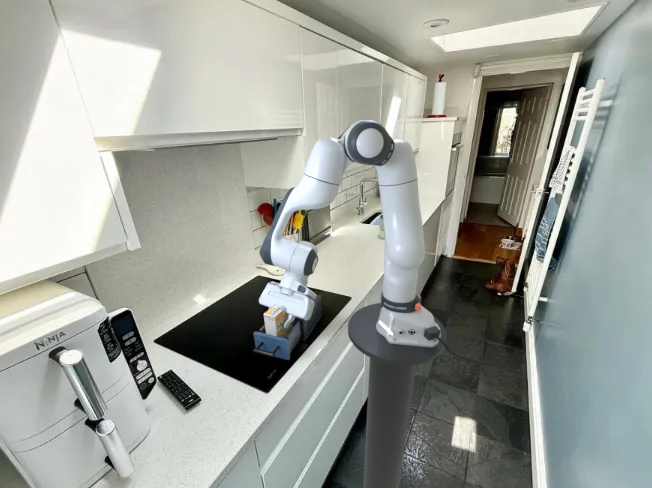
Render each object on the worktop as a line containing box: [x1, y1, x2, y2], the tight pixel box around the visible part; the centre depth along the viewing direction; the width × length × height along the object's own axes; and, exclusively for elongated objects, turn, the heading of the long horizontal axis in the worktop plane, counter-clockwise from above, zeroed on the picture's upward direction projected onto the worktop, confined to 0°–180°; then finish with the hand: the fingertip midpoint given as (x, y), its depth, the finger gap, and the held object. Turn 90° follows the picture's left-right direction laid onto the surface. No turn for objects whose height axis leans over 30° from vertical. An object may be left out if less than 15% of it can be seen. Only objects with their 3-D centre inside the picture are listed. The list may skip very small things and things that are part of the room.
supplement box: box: [263, 304, 291, 339], centre depth 104 cm, size 8×5×13 cm, turn 151°
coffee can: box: [378, 214, 385, 240], centre depth 200 cm, size 10×10×14 cm
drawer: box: [252, 319, 303, 361], centre depth 105 cm, size 20×12×8 cm, turn 158°
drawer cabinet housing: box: [295, 294, 323, 342], centre depth 117 cm, size 17×14×10 cm
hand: (277, 324), depth 103 cm, fingers closed on supplement box, 5 cm apart
